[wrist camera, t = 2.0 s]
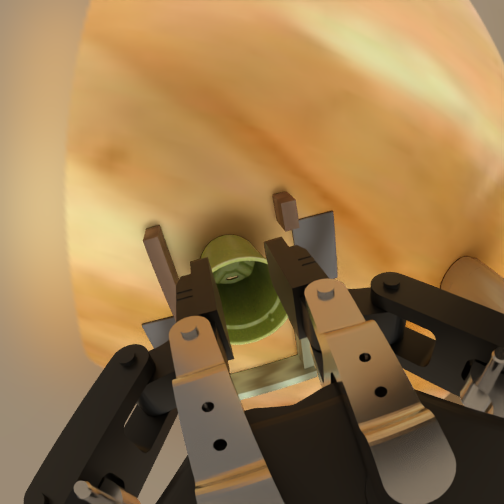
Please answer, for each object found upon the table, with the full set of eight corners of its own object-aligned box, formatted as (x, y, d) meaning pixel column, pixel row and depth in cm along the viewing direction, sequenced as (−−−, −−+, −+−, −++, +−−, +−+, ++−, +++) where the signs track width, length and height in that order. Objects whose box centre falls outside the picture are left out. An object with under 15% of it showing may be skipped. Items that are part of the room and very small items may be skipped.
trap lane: (329, 181, 32) (346, 191, 29) (338, 347, 45) (348, 364, 41) (103, 242, 30) (94, 259, 26) (180, 392, 42) (182, 413, 39)
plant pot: (262, 209, 32) (288, 244, 25) (276, 282, 37) (300, 328, 29) (175, 232, 31) (174, 275, 24) (199, 303, 36) (206, 355, 28)
